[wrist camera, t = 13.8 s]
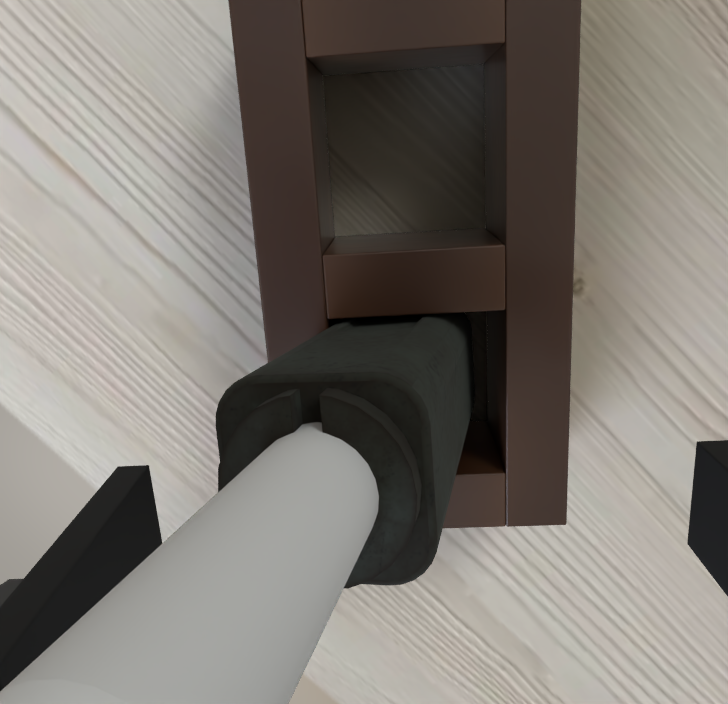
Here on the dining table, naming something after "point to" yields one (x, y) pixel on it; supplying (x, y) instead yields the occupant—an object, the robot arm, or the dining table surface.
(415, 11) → the rack
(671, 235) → the dining table surface
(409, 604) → the dining table surface
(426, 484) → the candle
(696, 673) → the dining table surface
